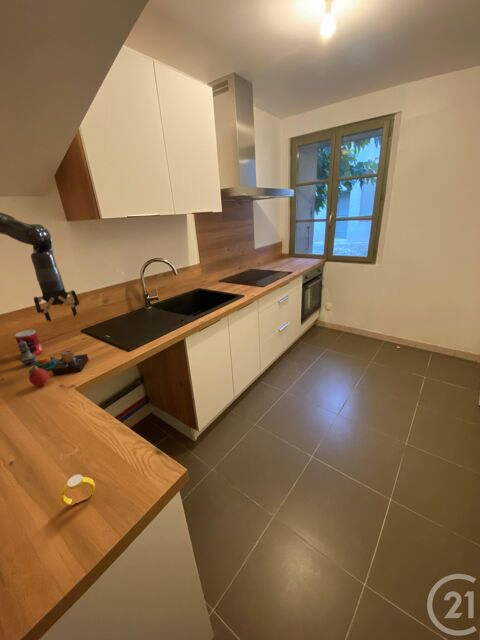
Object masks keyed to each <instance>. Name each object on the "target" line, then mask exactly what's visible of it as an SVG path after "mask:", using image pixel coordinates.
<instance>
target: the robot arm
mask: <svg viewBox="0 0 480 640" xmlns="http://www.w3.org/2000/svg"><path fill="white" fill-rule="evenodd" d="M0 234H1V235H4V236H7V237H10V238H11V239H13V240H16V241H18V242H19V243H23V244H26V245H29V246H32V253H31V254H30V259H31V263H32V265H33V269H34V273H35V276H36V280H37V283H38V285H39V288H40V291H41V294H42V296H34V297H33V302H34V305H35V306H34V307H35V309H36V313H37V314H40V313H41V314H43V315H44V317H45V320H46V321H47V322H52V318H51V316H50V312H49V310H50V308H51V306H57V305H63V304H66V305H68V306H70V309H71V312H72V315H73V317H76V315H78V311H77V309H76V307H77V306H79V305H80V301H79V299H78V296H77V293H76V291H75V290H74V289H72V290H70V291H66V288H65V285H64V282H63V279H62V278H63V277H62V275H61V273H60V270H59V268H58V266H57V262H56V259H55V256H54V248H53V247H54V246H53V240H52V235H51V233H50V231H49V229H48V228H47V227H45V226H44V225H42V224H37V223H27V222H23V221H20V220H18V219H17V218H15V217H14V216H11V215H10V214H6V213H3V212H1V211H0ZM68 296H70V297H73V300H74V301H73V302H72V301H70V299H68ZM42 300H43V301H44V302H46V303H45V305H44V307H43V308H42V307H41V303H42Z"/></svg>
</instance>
